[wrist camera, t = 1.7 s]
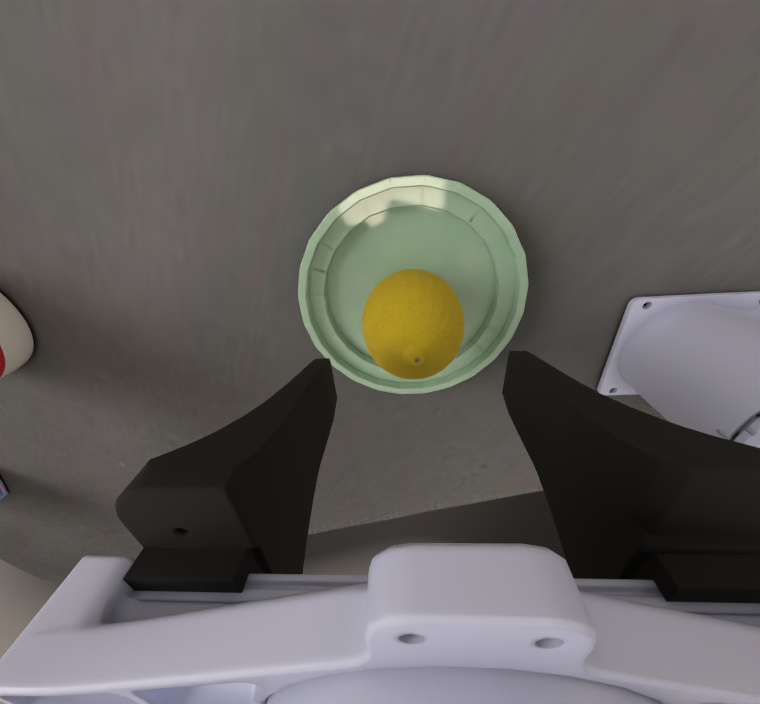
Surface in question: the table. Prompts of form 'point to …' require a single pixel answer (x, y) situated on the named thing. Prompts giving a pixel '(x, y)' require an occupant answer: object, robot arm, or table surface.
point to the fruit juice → (13, 338)
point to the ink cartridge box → (2, 490)
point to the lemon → (413, 324)
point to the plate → (413, 251)
